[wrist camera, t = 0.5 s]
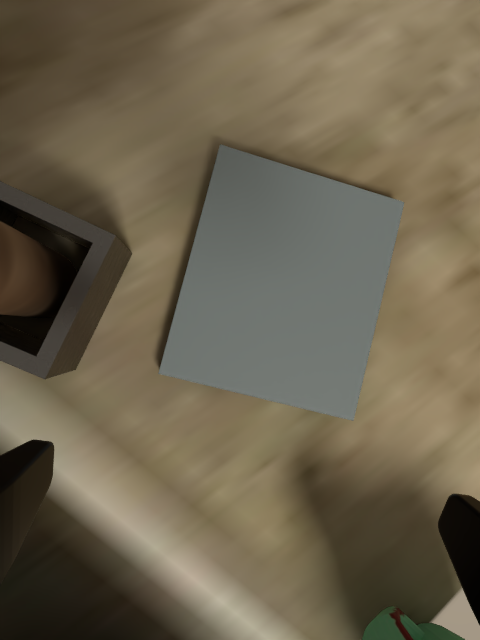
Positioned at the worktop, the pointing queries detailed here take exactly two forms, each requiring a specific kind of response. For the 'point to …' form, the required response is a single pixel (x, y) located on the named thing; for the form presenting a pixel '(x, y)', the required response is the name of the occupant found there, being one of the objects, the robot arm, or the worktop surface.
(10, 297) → the dowel
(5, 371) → the worktop surface
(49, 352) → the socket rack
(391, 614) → the mug
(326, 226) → the board
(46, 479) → the robot arm
